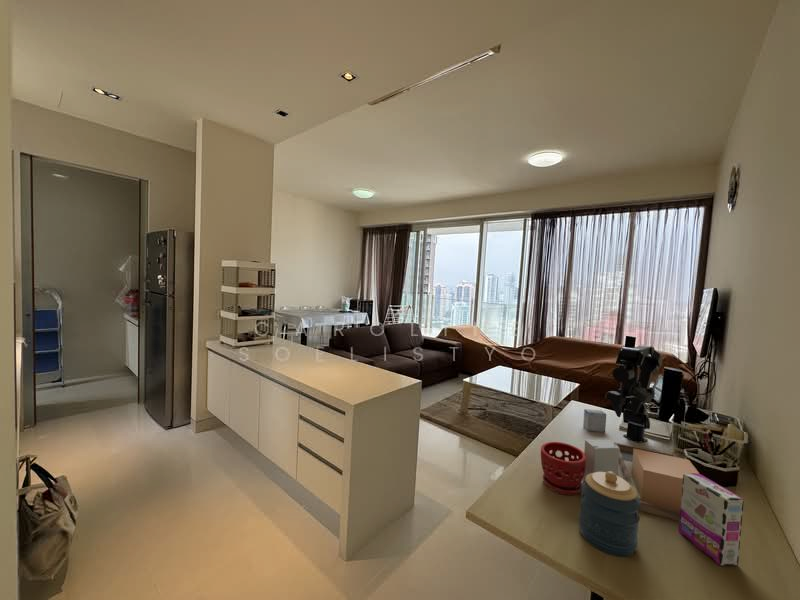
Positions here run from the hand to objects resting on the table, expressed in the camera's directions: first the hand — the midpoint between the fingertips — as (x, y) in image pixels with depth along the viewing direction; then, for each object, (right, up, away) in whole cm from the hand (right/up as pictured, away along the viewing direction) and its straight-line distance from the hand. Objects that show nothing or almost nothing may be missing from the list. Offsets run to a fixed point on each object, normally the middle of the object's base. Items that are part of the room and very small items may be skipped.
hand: (626, 415), depth 136 cm
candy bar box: (-16, -15, -52) cm, 57 cm away
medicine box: (-4, -12, +16) cm, 21 cm away
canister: (-40, -14, -50) cm, 66 cm away
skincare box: (-28, -14, -28) cm, 42 cm away
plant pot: (-41, -13, -28) cm, 52 cm away
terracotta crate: (-10, -14, -31) cm, 36 cm away
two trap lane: (-6, -14, -24) cm, 29 cm away
